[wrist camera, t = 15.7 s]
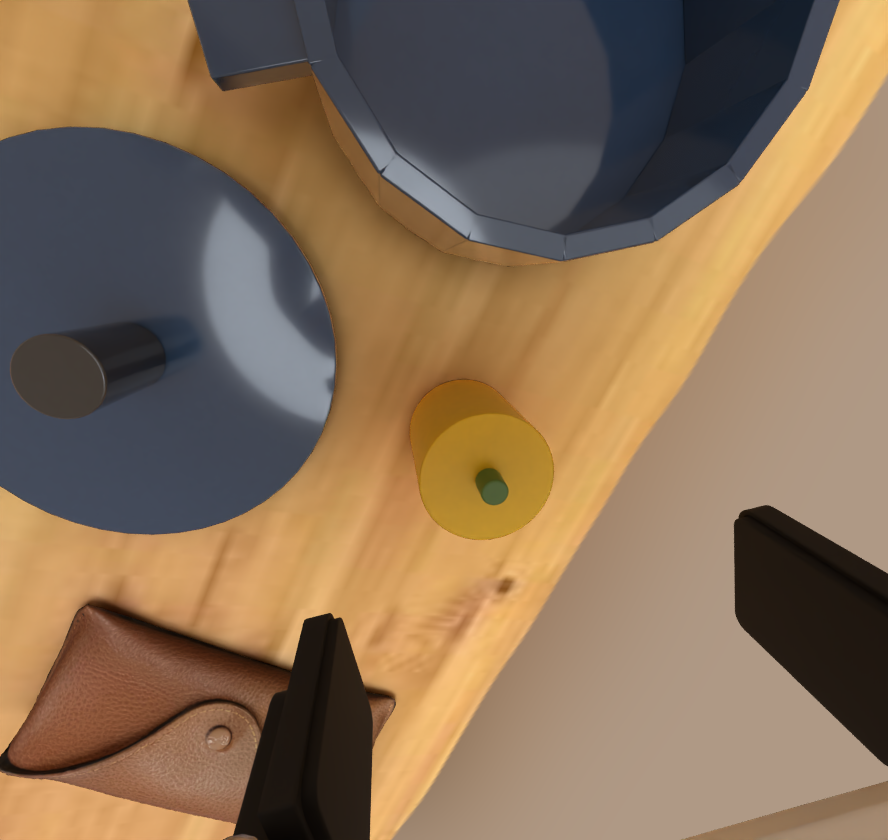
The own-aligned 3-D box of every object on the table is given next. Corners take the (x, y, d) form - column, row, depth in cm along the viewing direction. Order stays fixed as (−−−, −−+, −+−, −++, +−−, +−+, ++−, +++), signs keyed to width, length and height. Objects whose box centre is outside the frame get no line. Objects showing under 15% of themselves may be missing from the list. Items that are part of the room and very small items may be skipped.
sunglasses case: (406, 696, 27) (380, 852, 22) (363, 718, 32) (334, 851, 27) (72, 596, 23) (-49, 763, 18) (80, 637, 27) (-15, 779, 22)
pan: (182, -152, 16) (39, -461, 9) (756, -236, 17) (991, -559, 11) (311, 308, 21) (279, 322, 14) (752, 215, 22) (912, 187, 15)
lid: (-172, 180, 17) (-425, 135, 12) (275, 99, 18) (230, 23, 13) (36, 558, 22) (-73, 647, 17) (376, 477, 23) (375, 537, 18)
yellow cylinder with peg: (398, 392, 22) (406, 442, 15) (504, 368, 23) (557, 407, 16) (421, 488, 24) (438, 572, 17) (519, 465, 24) (574, 538, 17)
